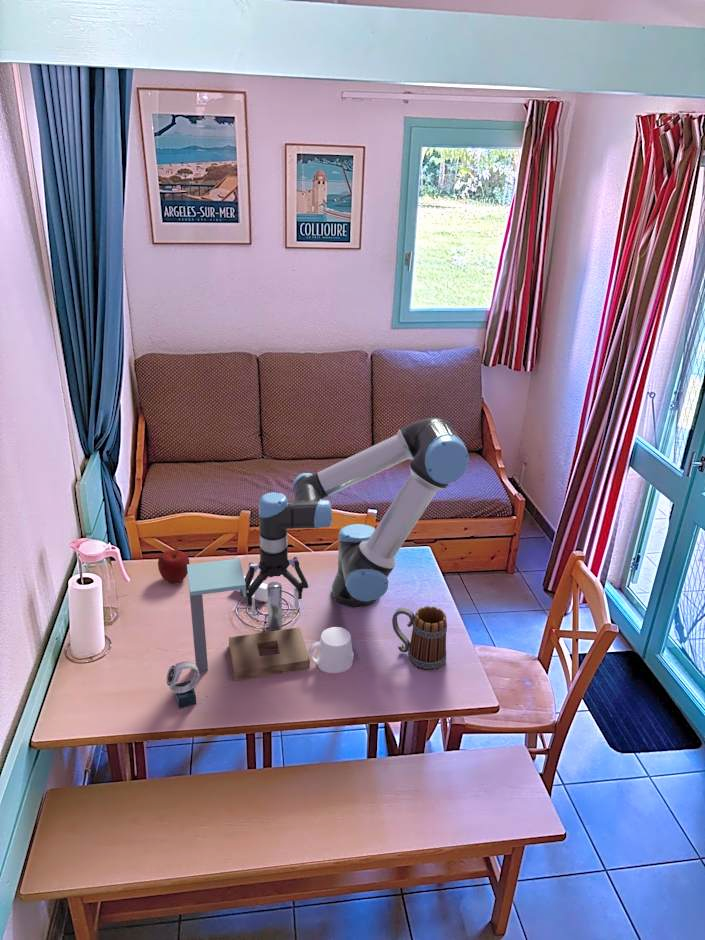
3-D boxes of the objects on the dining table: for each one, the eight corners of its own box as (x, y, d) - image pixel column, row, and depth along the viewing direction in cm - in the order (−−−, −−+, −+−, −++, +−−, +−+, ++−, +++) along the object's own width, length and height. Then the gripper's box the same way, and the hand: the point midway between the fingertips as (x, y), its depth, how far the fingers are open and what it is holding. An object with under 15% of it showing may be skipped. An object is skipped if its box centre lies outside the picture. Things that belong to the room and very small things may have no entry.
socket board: (299, 635, 207) (299, 627, 206) (309, 668, 195) (309, 660, 194) (229, 646, 202) (228, 637, 201) (235, 680, 190) (234, 671, 189)
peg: (281, 620, 213) (280, 580, 207) (283, 628, 210) (282, 589, 203) (267, 622, 212) (266, 582, 206) (269, 630, 209) (268, 590, 202)
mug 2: (449, 651, 203) (454, 608, 196) (441, 676, 194) (446, 631, 187) (396, 638, 207) (399, 595, 201) (385, 661, 198) (388, 617, 192)
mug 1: (349, 624, 198) (356, 643, 191) (348, 651, 202) (355, 671, 195) (306, 630, 195) (312, 649, 188) (306, 657, 199) (311, 677, 192)
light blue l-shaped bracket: (244, 646, 202) (239, 558, 189) (249, 675, 192) (245, 584, 179) (194, 653, 199) (186, 564, 186) (197, 683, 189) (189, 591, 176)
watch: (167, 695, 185) (163, 662, 180) (198, 687, 188) (195, 654, 183) (171, 711, 180) (167, 677, 175) (203, 702, 183) (200, 668, 178)
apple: (187, 589, 225) (184, 562, 220) (156, 588, 225) (153, 561, 221) (193, 572, 233) (191, 545, 229) (163, 571, 233) (161, 544, 229)
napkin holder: (278, 602, 221) (278, 586, 219) (243, 612, 216) (243, 597, 214) (259, 576, 233) (259, 562, 231) (225, 586, 228) (225, 571, 225)
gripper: (313, 534, 205) (313, 597, 215) (227, 544, 199) (231, 608, 209) (319, 548, 198) (318, 612, 208) (231, 559, 193) (234, 624, 202)
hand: (274, 610), depth 208 cm, fingers open, 12 cm apart
